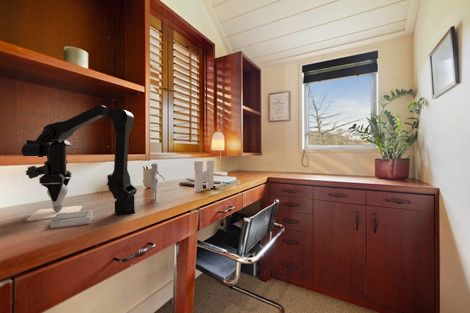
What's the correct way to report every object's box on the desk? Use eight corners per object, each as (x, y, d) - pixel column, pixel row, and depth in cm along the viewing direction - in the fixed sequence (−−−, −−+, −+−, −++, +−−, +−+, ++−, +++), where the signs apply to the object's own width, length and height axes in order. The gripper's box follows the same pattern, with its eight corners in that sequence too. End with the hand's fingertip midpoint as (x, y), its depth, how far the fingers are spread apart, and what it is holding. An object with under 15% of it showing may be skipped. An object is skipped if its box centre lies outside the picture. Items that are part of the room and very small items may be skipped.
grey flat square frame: (93, 215, 83) (93, 209, 83) (90, 223, 74) (90, 217, 74) (58, 219, 78) (58, 213, 78) (50, 228, 69) (50, 222, 69)
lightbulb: (45, 211, 84) (45, 183, 84) (65, 208, 89) (65, 181, 89) (49, 214, 80) (49, 184, 80) (69, 211, 85) (69, 182, 85)
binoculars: (209, 187, 147) (209, 160, 146) (215, 188, 144) (216, 160, 143) (192, 191, 132) (192, 161, 131) (199, 192, 129) (199, 161, 128)
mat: (82, 207, 94) (82, 205, 94) (76, 215, 82) (76, 214, 82) (39, 211, 88) (39, 209, 88) (26, 221, 75) (26, 219, 75)
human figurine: (162, 197, 114) (162, 162, 113) (167, 198, 111) (167, 163, 111) (140, 201, 104) (140, 163, 104) (144, 203, 102) (144, 164, 101)
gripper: (37, 157, 89) (37, 196, 89) (18, 159, 72) (19, 207, 73) (71, 157, 94) (71, 194, 94) (61, 159, 77) (62, 203, 78)
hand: (57, 199), depth 85 cm, fingers open, 9 cm apart
